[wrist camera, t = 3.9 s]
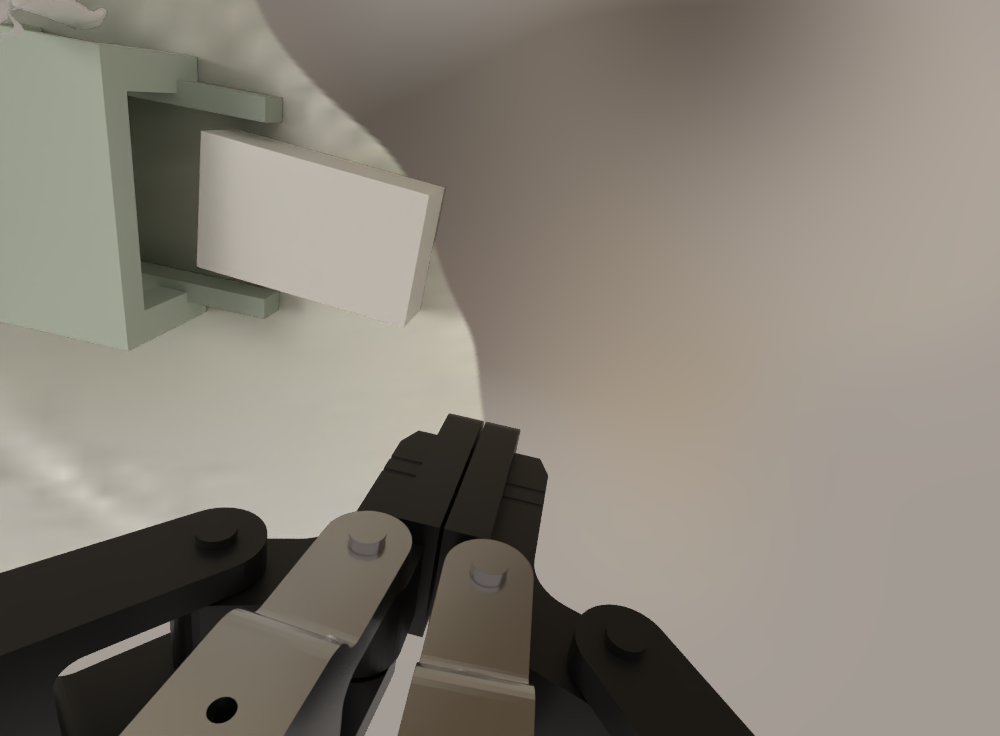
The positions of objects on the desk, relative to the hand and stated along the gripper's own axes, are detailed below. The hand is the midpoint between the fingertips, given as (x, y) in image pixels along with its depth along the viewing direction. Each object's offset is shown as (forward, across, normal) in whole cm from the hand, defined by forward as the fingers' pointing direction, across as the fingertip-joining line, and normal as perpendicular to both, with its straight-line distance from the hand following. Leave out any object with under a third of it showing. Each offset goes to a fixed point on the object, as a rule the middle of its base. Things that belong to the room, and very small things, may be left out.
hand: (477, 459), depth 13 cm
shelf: (+17, +20, 0) cm, 26 cm away
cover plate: (+17, +10, 0) cm, 20 cm away
